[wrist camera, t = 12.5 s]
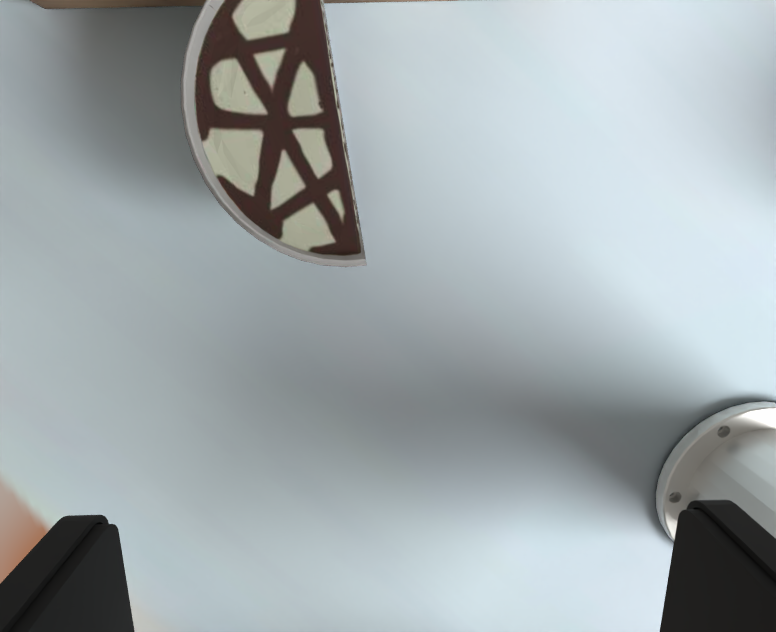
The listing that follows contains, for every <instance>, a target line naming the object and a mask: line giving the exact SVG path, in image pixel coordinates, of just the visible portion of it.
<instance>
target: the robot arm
mask: <svg viewBox="0 0 776 632" xmlns="http://www.w3.org/2000/svg"><path fill="white" fill-rule="evenodd" d="M656 509H657V513H658V516H659V520H660V523H661V524H662V526H663V528H664V530H665V532H666V533H667V535H668V536H669V537H670V538H671V539H672V540H673V542H674V546H673V552H672V558H671V565H670V571H669V577H668V584H667V590H666V596H665V602H664V609H663V615H662V621H661V627H660V632H776V403H774V402H766V401H765V402H751V403H745V404H741V405H737V406H733V407H730V408H727V409H725V410H723V411H720V412H718V413H716V414H714V415H712V416H710V417H709V418H707V419H706V420H704V421H702V422H701V423H699V424H698V425H697V426H695V427H694V428H693V429H692V430H691V431H690V432H688V433H687V434H686V435H685V436H684V437H683V438H682V439H681V441H680V442H679V443H678V444H677V445H676V447H675V448H674V449H673V450H672V452H671V454H670V455H669V457H668V459H667V460H666V462H665V464H664V466H663V469H662V471H661V474H660V477H659V479H658V485H657V491H656ZM0 632H134V626H133V620H132V614H131V607H130V601H129V595H128V588H127V582H126V576H125V569H124V563H123V557H122V550H121V544H120V538H119V532H118V528H117V527H116V525H114V524H109V523H108V520H107V519H106V517H105V516H103V515H78V516H65V517H63V518H61V519H60V520H59V521H58V522H57V523H56V524H55V525H54V526H53V527H52V528H51V529H50V530H49V532H48V533H47V534H46V535H45V536H44V537H43V538H42V539H41V540H40V541H39V542H38V544H37V545H36V546H35V547H34V548H33V549H32V550H31V551H30V552H29V553H28V554H27V556H26V557H25V558H24V559H23V560H22V561H21V562H20V563H19V564H18V565H17V566H16V567H15V569H14V570H13V571H12V572H11V573H10V574H9V575H8V576H7V577H6V578H5V580H4V581H3V582H2V583H1V584H0Z"/></svg>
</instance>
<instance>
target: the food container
mask: <svg viewBox="0 0 776 632" xmlns="http://www.w3.org/2000/svg"><path fill="white" fill-rule="evenodd" d="M181 109H182V115H183V121H184V127H185V134H186V137H187V140H188V143H189V146H190V149H191V153H192V156H193V159H194V161H195V163H196V165H197V167H198V169H199V171H200V173H201V175H202V177H203V179H204V182H205V183H206V185H207V186H208V188H209V189H210V191H211V192H212V194H213V195H214V197H215V198H216V199H217V201H218V202H219V204H220V205H221V206H222V207H223V208H224V209H225V211H226V212H227V213H228V214H229V215H230V216H231V217H232V218H233V219H234V220H235V221H236V222H237V223H238V224H239V225H240V226H241V227H243V228H244V229H245V230H246V231H248V232H249V233H250V234H251V235H253V236H254V237H255V238H256V239H258V240H260V241H261V242H263V243H265V244H267V245H268V246H270V247H272V248H273V249H275V250H277V251H279V252H281V253H284V254H286V255H289V256H291V257H294V258H296V259H299V260H302V261H306V262H311V263H315V264H320V265H325V266H340V267H352V266H364V265H367V264H366V258H365V252H364V246H363V240H362V234H361V228H360V223H359V217H358V211H357V204H356V198H355V192H354V186H353V180H352V174H351V168H350V162H349V155H348V149H347V143H346V137H345V131H344V125H343V119H342V113H341V106H340V100H339V94H338V88H337V82H336V76H335V70H334V64H333V57H332V51H331V45H330V39H329V33H328V27H327V20H326V14H325V8H324V2H323V0H206V1H205V3H204V5H203V7H202V9H201V11H200V13H199V15H198V17H197V19H196V21H195V23H194V25H193V27H192V30H191V34H190V37H189V40H188V44H187V47H186V50H185V54H184V61H183V68H182V76H181Z"/></svg>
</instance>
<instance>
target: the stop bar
mask: <svg viewBox="0 0 776 632" xmlns="http://www.w3.org/2000/svg"><path fill="white" fill-rule="evenodd" d="M30 1H32V2H34V3H35V4H37V5H39V6H41V7H43V8H45V9H64V8H113V7H162V6H203V5H204V3H205V1H206V0H30ZM407 1H456V0H323V2H324V3H358V2H407Z"/></svg>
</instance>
